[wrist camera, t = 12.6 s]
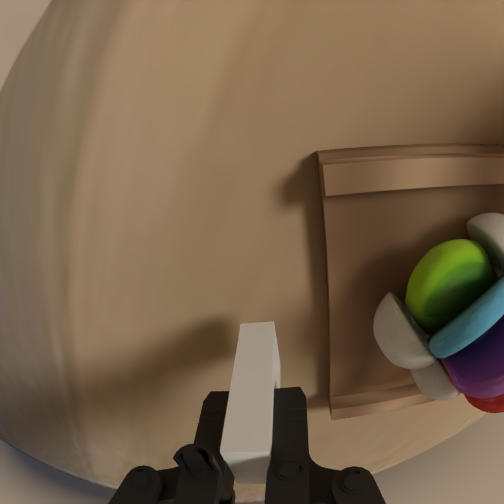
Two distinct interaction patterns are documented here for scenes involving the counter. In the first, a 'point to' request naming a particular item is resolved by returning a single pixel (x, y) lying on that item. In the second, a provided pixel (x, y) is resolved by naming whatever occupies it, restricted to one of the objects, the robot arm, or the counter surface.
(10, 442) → the counter surface
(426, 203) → the square wooden tray
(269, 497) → the robot arm
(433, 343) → the rainbow disc rattle
